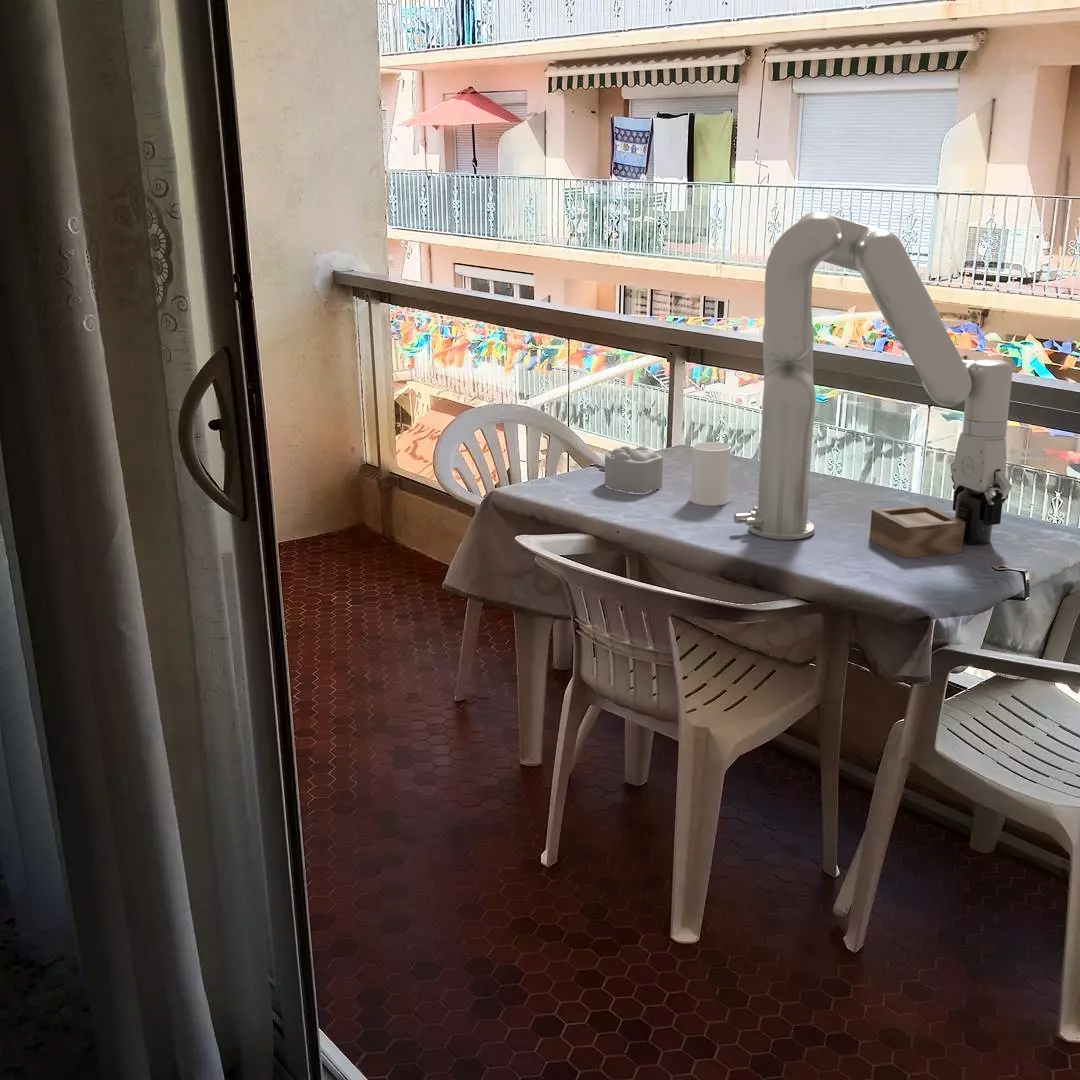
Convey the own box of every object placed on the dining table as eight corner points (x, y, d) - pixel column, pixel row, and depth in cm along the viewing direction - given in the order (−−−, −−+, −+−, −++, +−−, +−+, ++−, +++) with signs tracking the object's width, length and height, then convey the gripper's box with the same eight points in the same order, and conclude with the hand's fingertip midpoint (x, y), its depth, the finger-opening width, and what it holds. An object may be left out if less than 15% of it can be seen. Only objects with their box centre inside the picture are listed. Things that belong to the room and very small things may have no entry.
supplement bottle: (993, 546, 207) (1001, 484, 203) (955, 544, 208) (961, 482, 205) (987, 535, 214) (994, 475, 210) (949, 533, 215) (956, 473, 211)
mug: (711, 490, 247) (713, 437, 243) (745, 496, 242) (747, 442, 238) (682, 501, 238) (683, 447, 235) (716, 508, 233) (718, 452, 229)
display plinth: (903, 558, 201) (906, 527, 200) (869, 538, 213) (871, 509, 211) (961, 552, 204) (965, 522, 202) (925, 533, 215) (928, 504, 213)
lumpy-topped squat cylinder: (640, 496, 243) (640, 457, 240) (593, 486, 251) (594, 449, 249) (667, 486, 250) (668, 449, 248) (621, 477, 259) (622, 441, 256)
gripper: (939, 420, 211) (932, 506, 217) (995, 439, 195) (986, 532, 201) (974, 417, 213) (966, 503, 218) (1032, 436, 197) (1022, 528, 202)
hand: (975, 517), depth 210 cm, fingers open, 9 cm apart
